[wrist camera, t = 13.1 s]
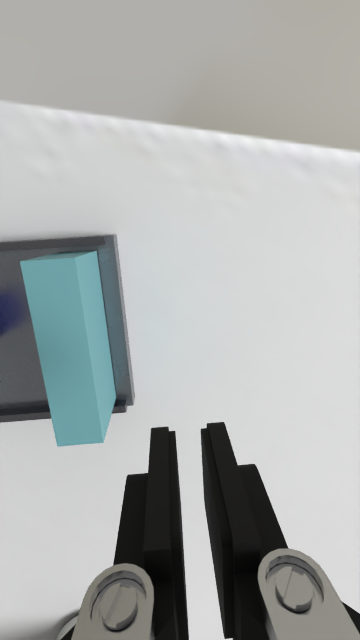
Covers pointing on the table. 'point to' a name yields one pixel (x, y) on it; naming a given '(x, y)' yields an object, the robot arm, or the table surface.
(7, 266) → the vise base
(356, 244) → the table surface
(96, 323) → the block
